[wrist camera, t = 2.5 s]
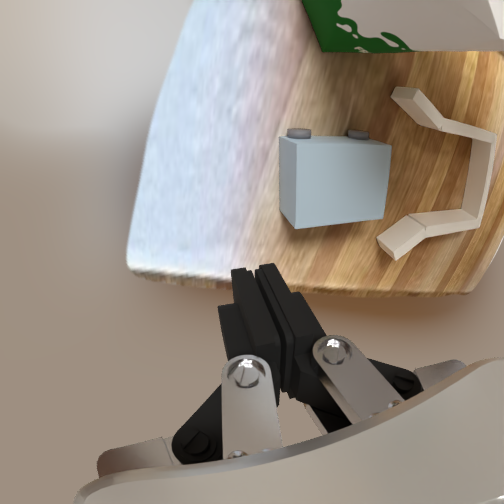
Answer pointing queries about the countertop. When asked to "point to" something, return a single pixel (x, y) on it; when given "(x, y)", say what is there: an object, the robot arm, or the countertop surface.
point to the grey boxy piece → (332, 178)
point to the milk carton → (407, 25)
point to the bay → (477, 184)
